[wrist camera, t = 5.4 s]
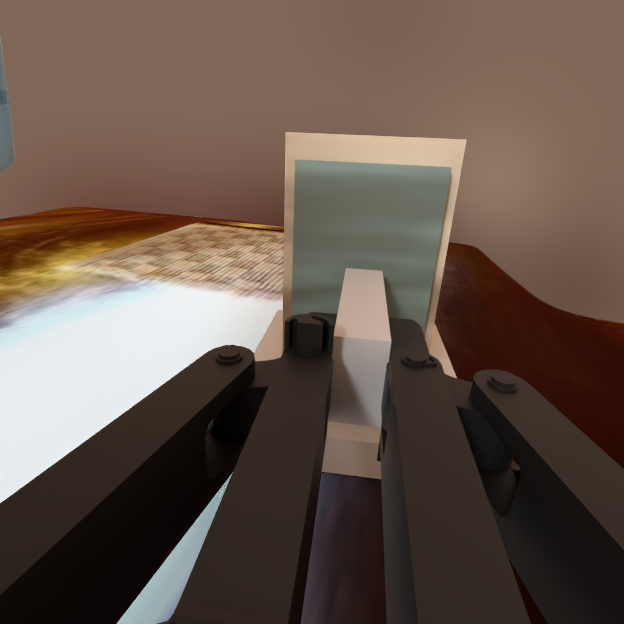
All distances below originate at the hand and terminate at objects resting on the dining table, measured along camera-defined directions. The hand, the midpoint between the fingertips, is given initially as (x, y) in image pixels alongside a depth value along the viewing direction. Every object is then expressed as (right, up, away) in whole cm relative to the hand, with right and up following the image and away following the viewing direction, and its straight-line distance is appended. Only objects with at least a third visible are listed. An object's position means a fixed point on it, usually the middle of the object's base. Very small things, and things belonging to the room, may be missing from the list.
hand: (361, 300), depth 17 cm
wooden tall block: (0, -4, +5) cm, 6 cm away
